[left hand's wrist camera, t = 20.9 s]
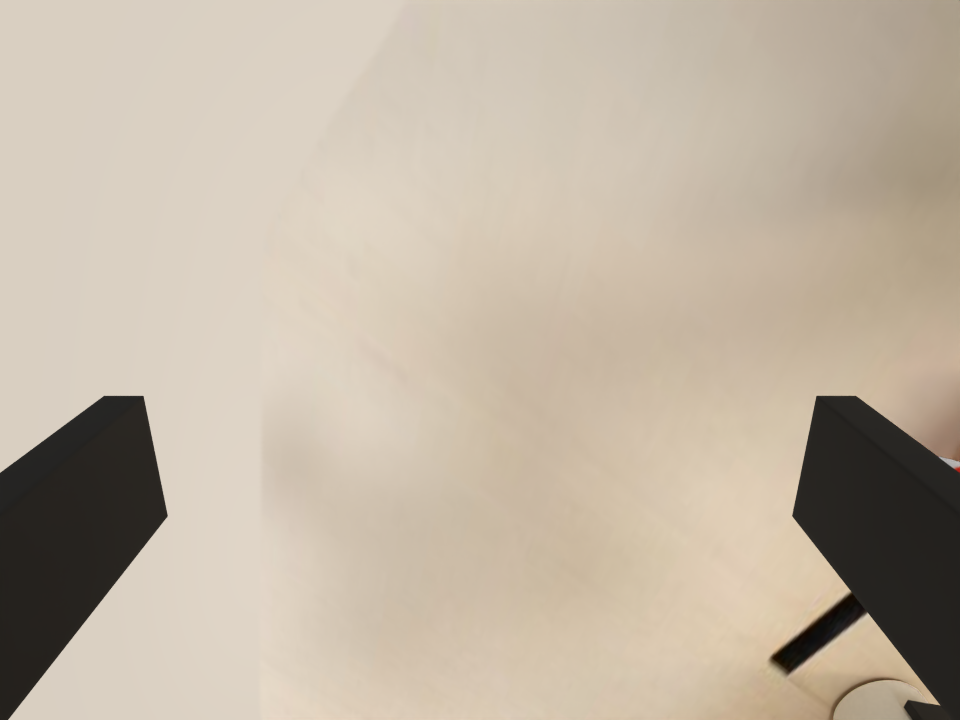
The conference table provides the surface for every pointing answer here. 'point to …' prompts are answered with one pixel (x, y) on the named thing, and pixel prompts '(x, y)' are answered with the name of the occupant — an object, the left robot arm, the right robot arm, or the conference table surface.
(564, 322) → the conference table surface
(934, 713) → the right robot arm
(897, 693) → the can
